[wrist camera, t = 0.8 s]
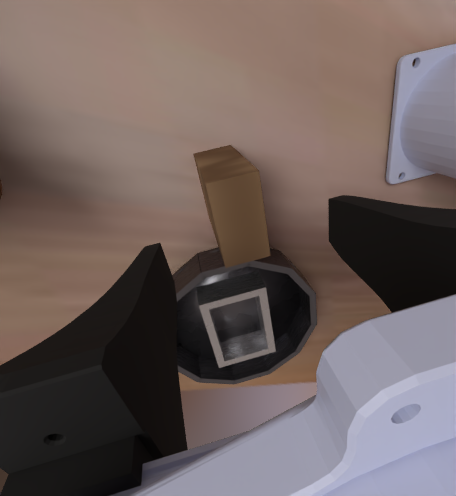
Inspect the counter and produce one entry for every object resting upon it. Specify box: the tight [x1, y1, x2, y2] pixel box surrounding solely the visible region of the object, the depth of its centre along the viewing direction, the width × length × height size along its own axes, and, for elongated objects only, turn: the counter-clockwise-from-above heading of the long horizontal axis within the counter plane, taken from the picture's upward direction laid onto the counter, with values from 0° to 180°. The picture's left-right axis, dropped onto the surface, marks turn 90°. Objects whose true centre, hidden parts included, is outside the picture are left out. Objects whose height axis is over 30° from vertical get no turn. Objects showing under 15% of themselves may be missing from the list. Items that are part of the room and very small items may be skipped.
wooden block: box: [194, 145, 270, 268], centre depth 16 cm, size 2×4×6 cm, turn 11°
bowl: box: [172, 247, 317, 384], centre depth 24 cm, size 13×13×3 cm
